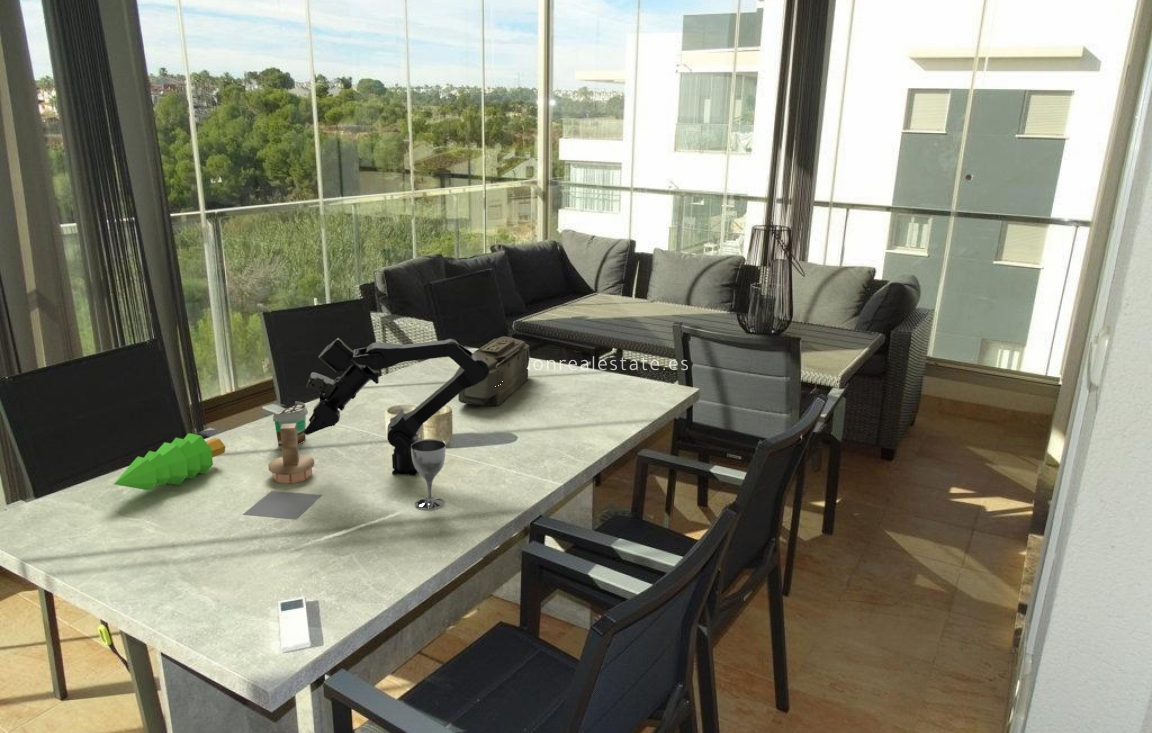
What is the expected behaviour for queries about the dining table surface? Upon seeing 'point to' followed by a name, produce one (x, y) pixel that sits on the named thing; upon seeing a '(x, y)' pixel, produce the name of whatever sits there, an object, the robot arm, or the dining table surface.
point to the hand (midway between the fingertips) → (307, 427)
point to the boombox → (499, 372)
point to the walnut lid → (290, 454)
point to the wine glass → (428, 468)
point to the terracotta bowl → (292, 477)
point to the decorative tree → (172, 462)
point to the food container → (292, 420)
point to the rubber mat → (283, 505)
